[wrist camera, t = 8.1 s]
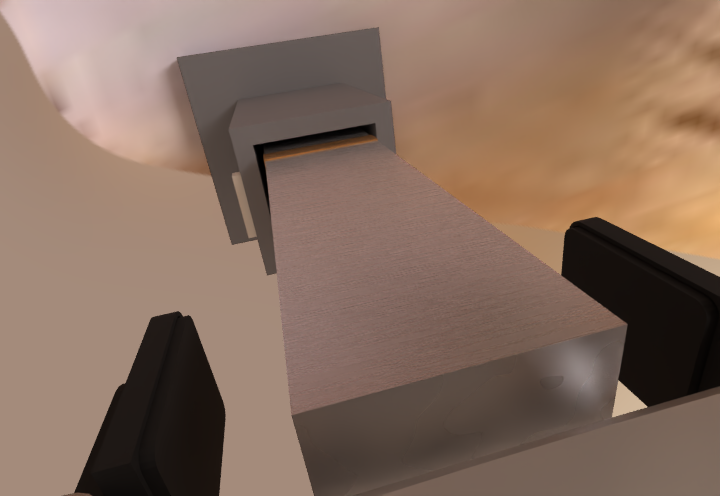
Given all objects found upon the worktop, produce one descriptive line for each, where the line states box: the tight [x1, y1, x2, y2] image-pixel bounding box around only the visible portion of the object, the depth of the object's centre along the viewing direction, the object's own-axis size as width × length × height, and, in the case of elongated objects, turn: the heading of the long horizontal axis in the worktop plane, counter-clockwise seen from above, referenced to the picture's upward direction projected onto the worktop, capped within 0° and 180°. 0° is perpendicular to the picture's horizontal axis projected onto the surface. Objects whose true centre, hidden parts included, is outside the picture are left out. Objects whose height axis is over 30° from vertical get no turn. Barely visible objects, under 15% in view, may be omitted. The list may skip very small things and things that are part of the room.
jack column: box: [263, 126, 628, 496], centre depth 15 cm, size 5×5×20 cm
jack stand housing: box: [177, 27, 396, 275], centre depth 26 cm, size 13×13×14 cm
